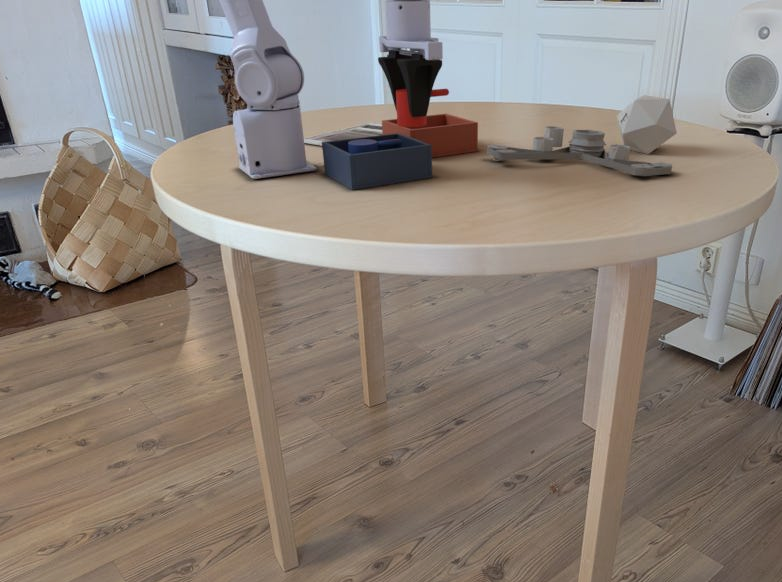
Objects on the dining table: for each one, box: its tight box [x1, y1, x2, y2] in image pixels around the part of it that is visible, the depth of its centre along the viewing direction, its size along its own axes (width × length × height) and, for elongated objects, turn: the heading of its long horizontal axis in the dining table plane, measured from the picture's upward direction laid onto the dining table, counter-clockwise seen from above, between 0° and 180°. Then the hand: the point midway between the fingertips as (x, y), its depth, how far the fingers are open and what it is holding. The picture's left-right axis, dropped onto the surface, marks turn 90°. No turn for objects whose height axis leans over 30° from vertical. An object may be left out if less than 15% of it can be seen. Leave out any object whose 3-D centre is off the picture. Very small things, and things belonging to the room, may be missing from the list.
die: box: [616, 94, 678, 155], centre depth 105 cm, size 8×9×10 cm
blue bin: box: [321, 133, 433, 191], centre depth 93 cm, size 12×10×4 cm
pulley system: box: [486, 125, 673, 177], centre depth 99 cm, size 27×5×15 cm
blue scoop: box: [348, 139, 401, 154], centre depth 93 cm, size 8×4×4 cm, turn 120°
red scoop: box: [396, 88, 450, 127], centre depth 91 cm, size 8×4×4 cm, turn 119°
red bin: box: [381, 113, 479, 158], centre depth 108 cm, size 12×10×4 cm
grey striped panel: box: [304, 122, 383, 147], centre depth 118 cm, size 11×1×18 cm
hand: (411, 113), depth 90 cm, fingers closed on red scoop, 4 cm apart
